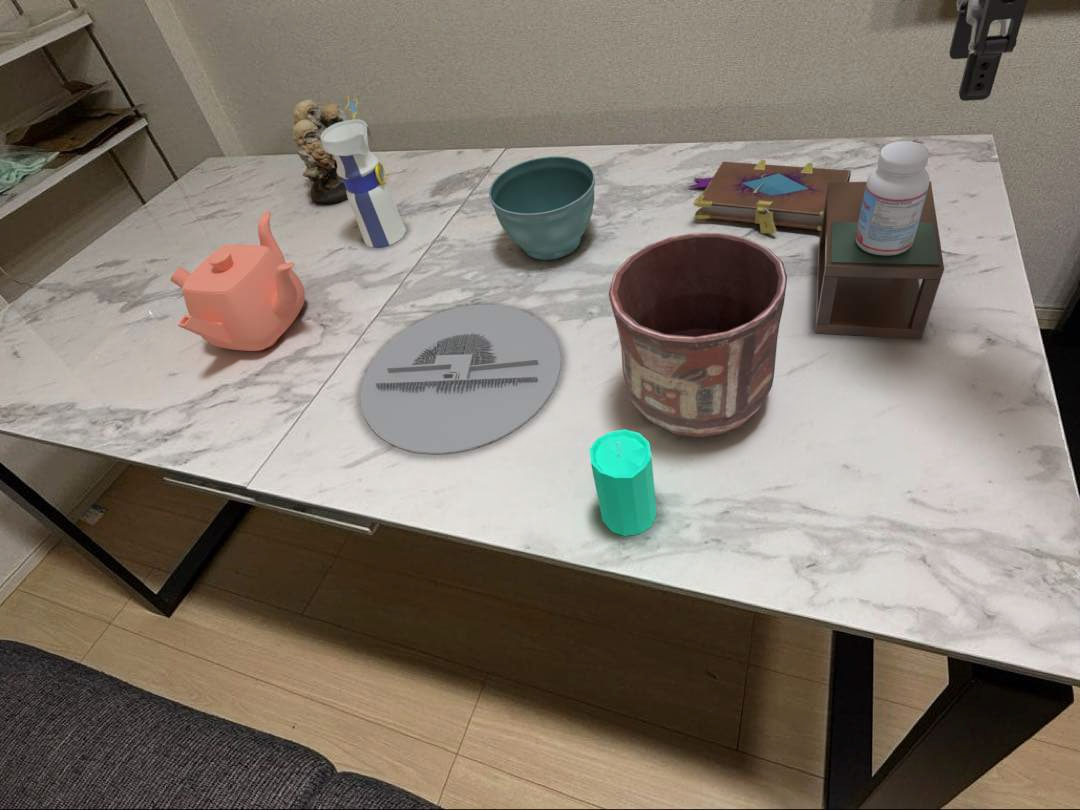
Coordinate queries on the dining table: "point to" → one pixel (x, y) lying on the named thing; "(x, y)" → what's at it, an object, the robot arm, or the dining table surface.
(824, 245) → the stand
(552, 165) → the flower pot
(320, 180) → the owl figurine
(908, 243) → the pill bottle
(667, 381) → the pottery
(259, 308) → the teapot
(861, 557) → the dining table surface
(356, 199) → the water bottle
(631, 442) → the candle
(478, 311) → the plate
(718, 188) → the book
